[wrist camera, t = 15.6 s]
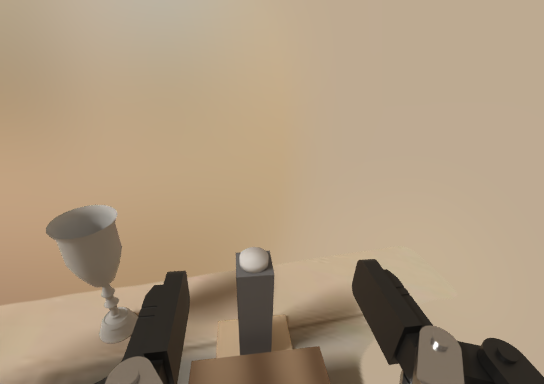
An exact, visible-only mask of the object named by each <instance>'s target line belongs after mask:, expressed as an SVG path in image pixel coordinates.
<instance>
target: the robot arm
mask: <svg viewBox="0 0 544 384" xmlns="http://www.w3.org/2000/svg"><path fill="white" fill-rule="evenodd" d="M352 291H353V294H354V297H355V299H356V301H357V303H358V305H359V307H360V309H361V311H362V313H363V315H364V317H365V319H366V321H367V323H368V324H369V326H370V328H371V330H372V332H373V334H374V336H375V338H376V340H377V342H378V344H379V346H380V348H381V350H382V352H383V353H384V356H385V358H386V360H387V362H388V364H389V365H391V364H398V363H399V364H400V366H401V368H402V372H401V375H400V384H544V377H543V376H542V375H541V374H540V373H539V371H537V369H536V368H535V367H534V366H533V365H532V364H531V363H530V362H529V361H528V360H527V358H526V357H525V356H524V355H523V354H522V353H521V352H520V351H519V350H517V349H516V348H515V347H513V346H512V345H510V344H509V343H507V342H505V341H502V340H500V339H496V338H488V339H486V340H484V342H483V343H482V345H481V346H478V345H473V344H469V343H464V342H459V341H457V340H456V339H455V338H454V337H453V336H452V335H451V334H450V333H448V332H447V331H445V330H443V329H441V328H439V327H436V326H433V325H432V324H431V322H430V321H429V319H428V318H427V317H426V315H425V314H424V313H423V311H422V310H421V309H420V307H419V306H418V305H417V303H416V302H415V301H414V299H413V298H412V297H411V296H410V295H409V293H408V291H407V290H406V289H405V288H404V286H403V285H402V283H401V282H400V281H399V279H398V278H397V277H396V276H395V275H394V274H392V273H391V272H390V271H388V270H387V269H386V270H383V269H382V267H381V266H380V264H379V263H378V262H377V260H375V259H368V260H359V261H358V262H357V266H356V270H355V274H354V278H353V282H352ZM189 305H190V296H189V288H188V281H187V274H186V271H174V272H167V274H166V278H165V281H164V285H154V286H153V287H152V289H151V290H150V291H149V292H148V293H147V294H146V296H145V299H144V301H143V304H142V309H141V310H140V313H139V316H138V319H137V321H136V324H135V327H134V330H133V333H132V335H131V338H130V341H129V344H128V347H127V350H126V352H125V355H124V358H123V360H122V361H121V363H120V364H118V365H117V366H116V367H115V368H114V369H113V370H112V371H111V373H110V374H109V376H107V377H106V378H104V379H103V380H101V381H99V382H97V383H95V384H177V381H178V375H179V369H180V362H181V356H182V350H183V344H184V338H185V332H186V326H187V319H188V313H189Z"/></svg>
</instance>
